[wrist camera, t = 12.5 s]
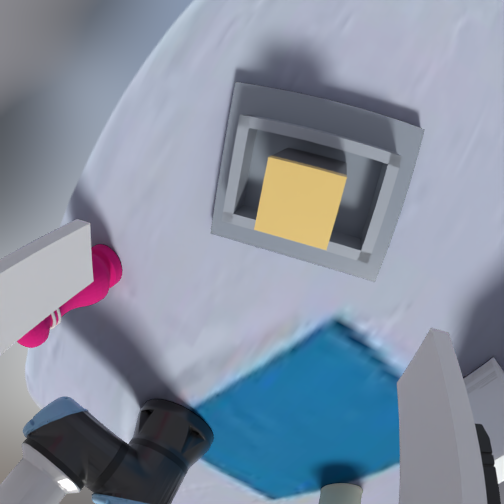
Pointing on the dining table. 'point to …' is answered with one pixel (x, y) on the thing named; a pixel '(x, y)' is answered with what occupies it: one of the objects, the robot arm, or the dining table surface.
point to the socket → (325, 144)
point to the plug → (301, 196)
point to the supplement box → (489, 407)
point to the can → (341, 494)
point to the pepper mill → (81, 293)
